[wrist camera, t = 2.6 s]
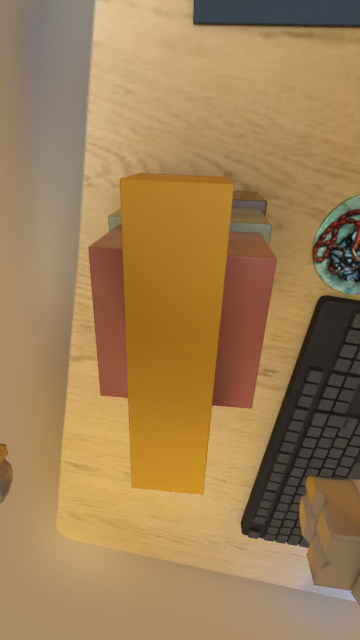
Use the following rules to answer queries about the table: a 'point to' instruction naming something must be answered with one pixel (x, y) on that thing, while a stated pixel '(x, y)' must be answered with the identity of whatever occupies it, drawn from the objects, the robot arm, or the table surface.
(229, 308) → the tower
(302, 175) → the table surface
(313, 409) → the keyboard
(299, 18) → the mat
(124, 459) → the table surface
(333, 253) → the dish
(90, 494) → the table surface
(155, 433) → the bar
